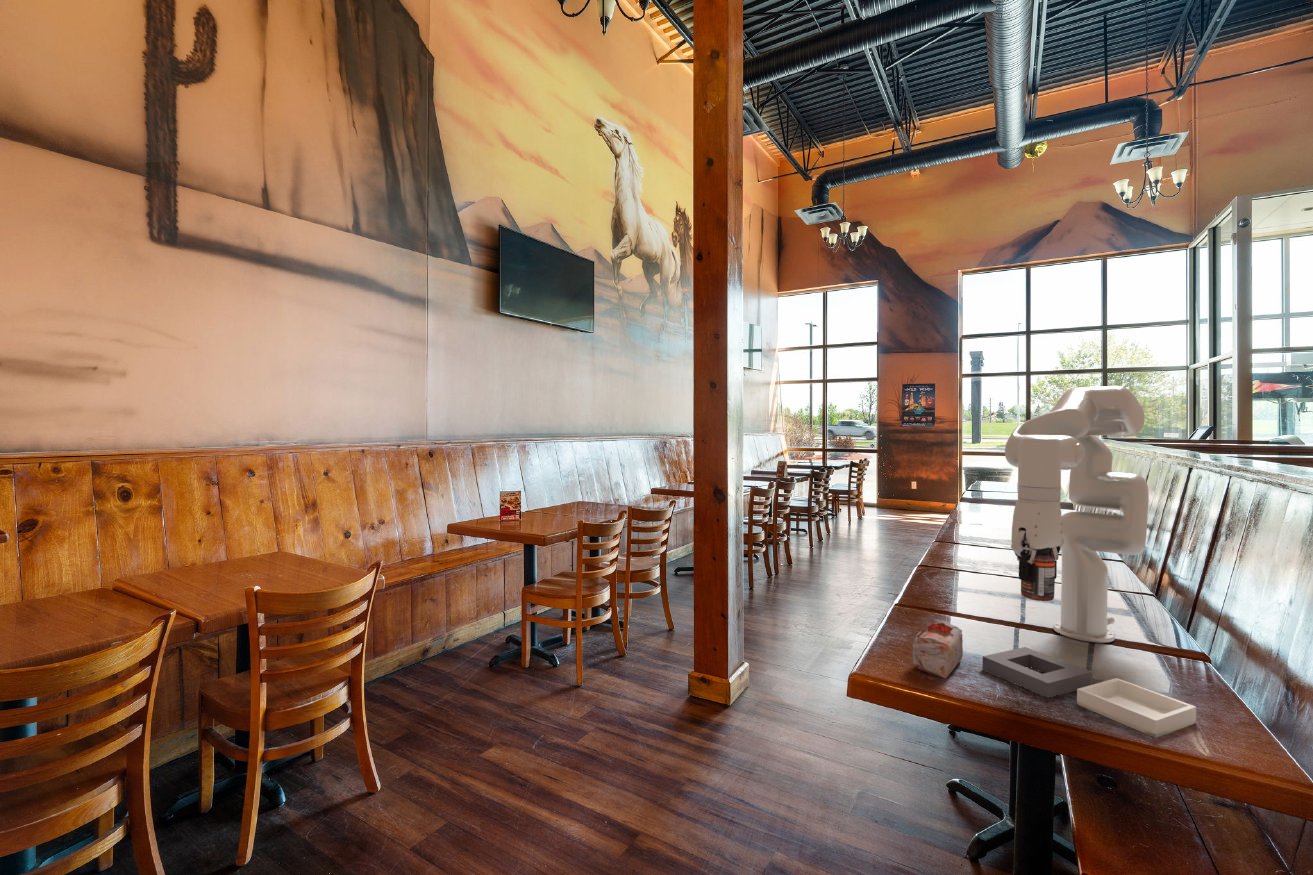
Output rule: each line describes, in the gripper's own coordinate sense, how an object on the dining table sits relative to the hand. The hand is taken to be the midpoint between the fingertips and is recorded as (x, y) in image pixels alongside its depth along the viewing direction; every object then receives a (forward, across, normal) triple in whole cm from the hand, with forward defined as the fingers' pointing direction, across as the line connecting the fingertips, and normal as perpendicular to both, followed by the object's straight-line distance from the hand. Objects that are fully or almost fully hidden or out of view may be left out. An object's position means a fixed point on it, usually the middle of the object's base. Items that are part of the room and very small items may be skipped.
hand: (1037, 578), depth 119 cm
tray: (+21, -2, +17) cm, 27 cm away
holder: (+21, 0, 0) cm, 21 cm away
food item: (+21, +15, -12) cm, 29 cm away
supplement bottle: (+4, 0, 0) cm, 4 cm away
